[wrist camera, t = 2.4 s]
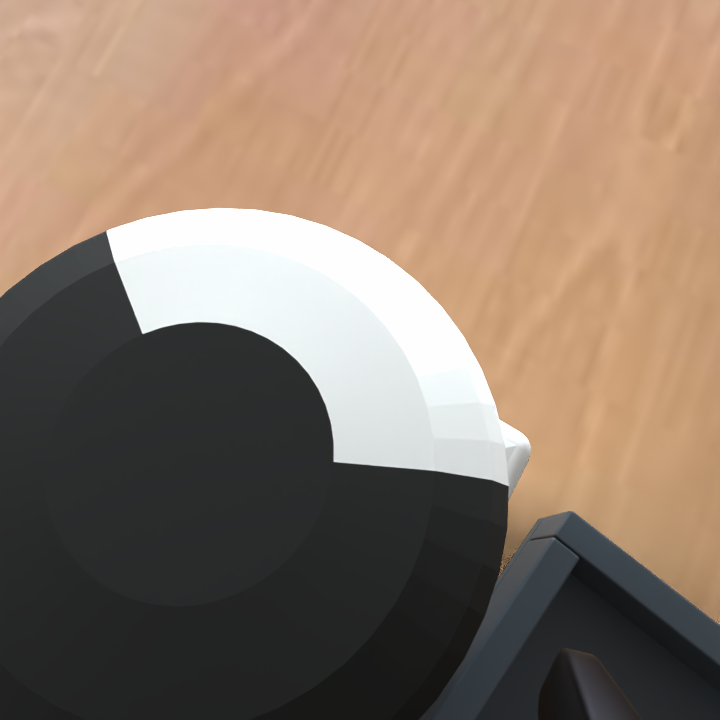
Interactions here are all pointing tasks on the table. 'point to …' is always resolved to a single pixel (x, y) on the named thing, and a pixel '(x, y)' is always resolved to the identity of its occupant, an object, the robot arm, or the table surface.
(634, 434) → the table surface
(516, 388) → the table surface
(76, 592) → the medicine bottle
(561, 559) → the tray
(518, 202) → the table surface
